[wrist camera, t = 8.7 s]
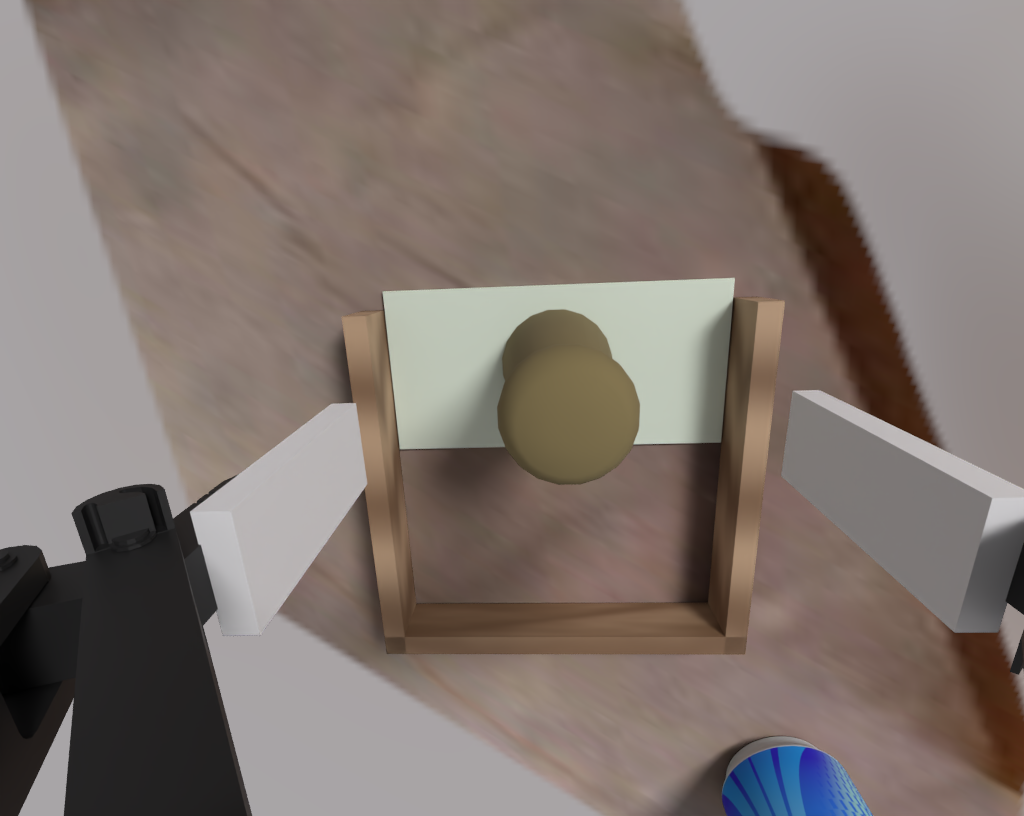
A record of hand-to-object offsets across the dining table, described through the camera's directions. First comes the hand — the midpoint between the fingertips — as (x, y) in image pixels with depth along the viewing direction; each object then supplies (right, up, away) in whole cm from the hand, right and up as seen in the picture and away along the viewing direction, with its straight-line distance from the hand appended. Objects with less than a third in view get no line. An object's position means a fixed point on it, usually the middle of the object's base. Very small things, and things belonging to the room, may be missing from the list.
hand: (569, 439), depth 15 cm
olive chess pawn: (+1, +3, +12) cm, 13 cm away
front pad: (+1, +3, +12) cm, 13 cm away
